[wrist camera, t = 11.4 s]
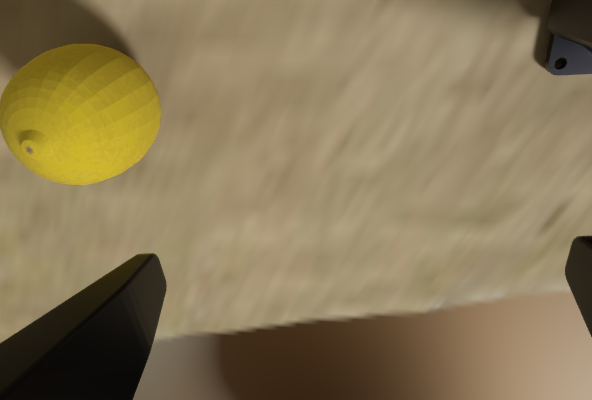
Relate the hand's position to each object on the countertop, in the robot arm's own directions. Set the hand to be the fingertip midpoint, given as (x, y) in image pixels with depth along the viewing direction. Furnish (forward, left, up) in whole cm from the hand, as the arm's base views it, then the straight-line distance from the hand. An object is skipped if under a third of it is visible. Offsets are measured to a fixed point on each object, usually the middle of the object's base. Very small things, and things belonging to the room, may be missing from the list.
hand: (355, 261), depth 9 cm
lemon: (+11, -1, -13) cm, 17 cm away
